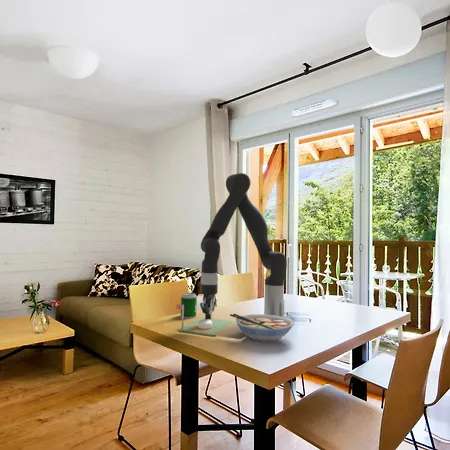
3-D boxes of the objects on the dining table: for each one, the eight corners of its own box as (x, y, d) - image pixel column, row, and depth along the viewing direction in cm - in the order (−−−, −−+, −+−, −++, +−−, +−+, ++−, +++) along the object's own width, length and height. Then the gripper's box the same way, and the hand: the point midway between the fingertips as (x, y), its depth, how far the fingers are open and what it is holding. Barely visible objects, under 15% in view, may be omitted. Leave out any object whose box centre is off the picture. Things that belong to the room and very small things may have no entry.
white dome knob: (214, 324, 152) (213, 319, 151) (209, 331, 146) (209, 326, 146) (201, 323, 154) (200, 318, 153) (196, 330, 148) (195, 324, 147)
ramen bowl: (308, 343, 133) (308, 322, 134) (261, 353, 121) (261, 329, 121) (266, 328, 154) (266, 309, 155) (222, 335, 142) (222, 315, 142)
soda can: (193, 321, 164) (194, 295, 165) (178, 319, 166) (179, 294, 166) (198, 317, 172) (198, 293, 172) (183, 316, 173) (184, 292, 174)
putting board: (233, 323, 161) (234, 299, 162) (213, 337, 139) (214, 308, 139) (199, 319, 168) (200, 296, 168) (174, 331, 145) (175, 304, 146)
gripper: (210, 285, 147) (209, 327, 146) (222, 281, 159) (221, 320, 159) (194, 284, 150) (193, 324, 149) (207, 280, 162) (206, 318, 161)
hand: (208, 322), depth 154 cm, fingers closed
